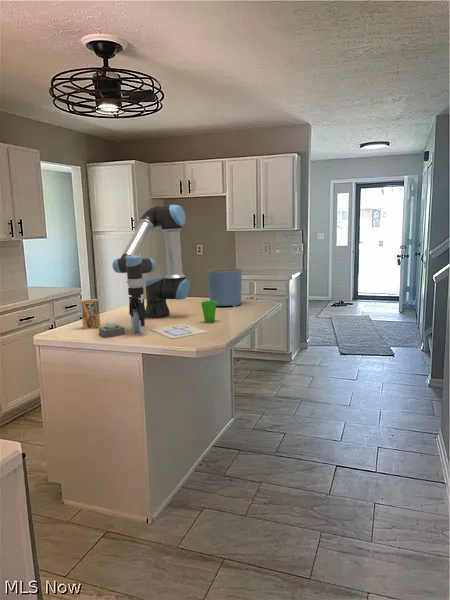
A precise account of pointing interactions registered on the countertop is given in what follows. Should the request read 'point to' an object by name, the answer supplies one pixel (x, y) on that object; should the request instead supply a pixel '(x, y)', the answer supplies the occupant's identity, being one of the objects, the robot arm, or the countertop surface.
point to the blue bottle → (136, 321)
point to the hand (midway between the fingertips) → (138, 330)
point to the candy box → (90, 313)
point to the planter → (225, 286)
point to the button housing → (111, 331)
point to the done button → (111, 325)
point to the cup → (209, 310)
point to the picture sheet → (178, 331)
